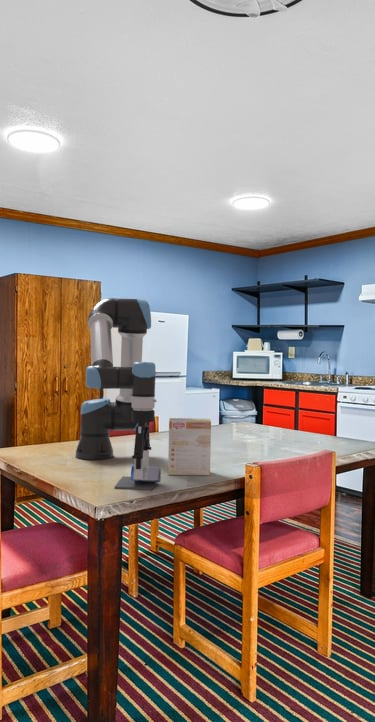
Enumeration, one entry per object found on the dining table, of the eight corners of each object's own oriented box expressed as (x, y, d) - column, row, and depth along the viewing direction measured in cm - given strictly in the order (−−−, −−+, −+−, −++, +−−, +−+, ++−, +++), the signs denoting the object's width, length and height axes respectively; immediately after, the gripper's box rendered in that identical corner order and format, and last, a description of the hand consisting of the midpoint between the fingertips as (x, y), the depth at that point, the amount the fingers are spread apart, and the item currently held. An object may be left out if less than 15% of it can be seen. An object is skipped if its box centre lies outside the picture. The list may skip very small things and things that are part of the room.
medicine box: (160, 482, 173) (134, 481, 174) (161, 468, 174) (135, 468, 175) (157, 480, 165) (130, 479, 166) (158, 466, 167) (131, 465, 167)
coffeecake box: (208, 471, 193) (210, 418, 193) (210, 476, 186) (211, 420, 186) (167, 470, 193) (169, 417, 193) (167, 475, 186) (169, 420, 185)
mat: (122, 478, 180) (122, 476, 180) (157, 479, 179) (157, 477, 179) (114, 488, 166) (114, 486, 166) (152, 490, 165) (152, 488, 165)
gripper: (149, 414, 159) (147, 483, 160) (158, 405, 184) (157, 466, 185) (124, 413, 160) (123, 483, 160) (137, 405, 185) (136, 465, 185)
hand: (141, 474), depth 172 cm, fingers open, 13 cm apart
